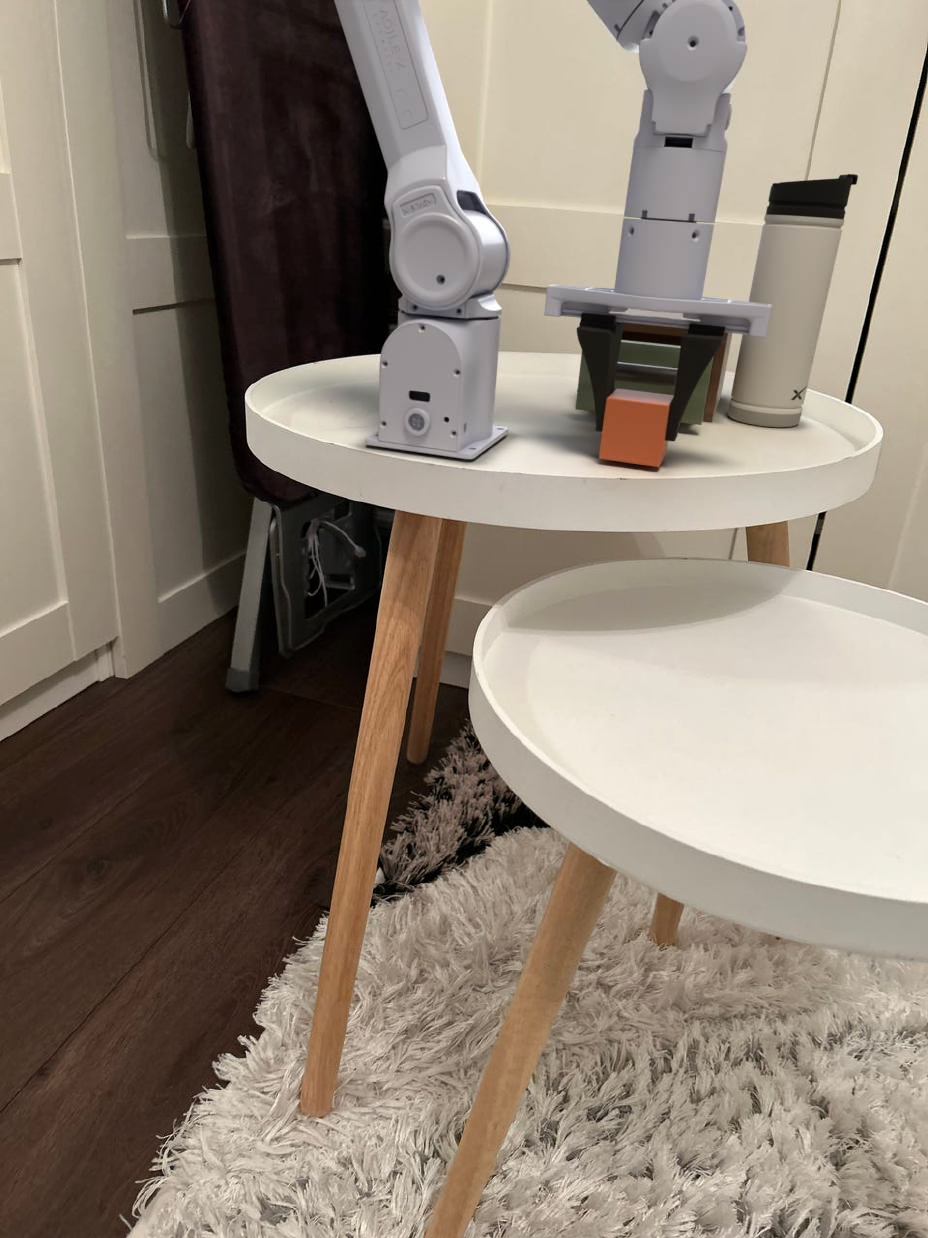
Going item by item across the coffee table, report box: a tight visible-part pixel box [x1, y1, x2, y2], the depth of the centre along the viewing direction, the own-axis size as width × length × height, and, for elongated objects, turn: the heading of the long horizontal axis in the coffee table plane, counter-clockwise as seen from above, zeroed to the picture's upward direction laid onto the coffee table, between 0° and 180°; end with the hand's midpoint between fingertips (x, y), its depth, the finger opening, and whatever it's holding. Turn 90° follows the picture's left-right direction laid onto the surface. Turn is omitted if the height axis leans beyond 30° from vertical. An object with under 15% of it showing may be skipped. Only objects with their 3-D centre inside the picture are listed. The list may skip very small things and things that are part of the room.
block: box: [598, 389, 674, 468], centre depth 61 cm, size 4×4×4 cm
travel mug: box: [727, 173, 859, 428], centre depth 75 cm, size 6×7×20 cm
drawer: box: [575, 331, 714, 426], centre depth 75 cm, size 17×10×6 cm, turn 162°
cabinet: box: [610, 308, 733, 423], centre depth 83 cm, size 14×12×8 cm
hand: (636, 433), depth 62 cm, fingers closed on block, 4 cm apart
